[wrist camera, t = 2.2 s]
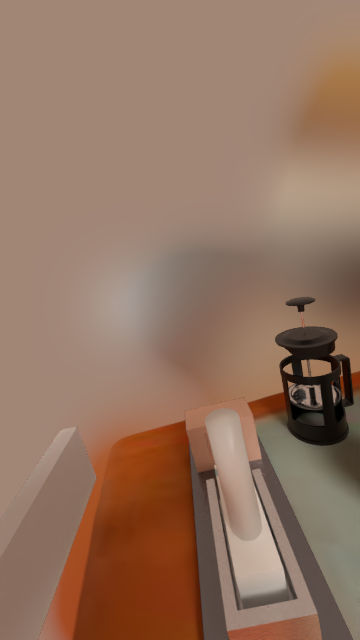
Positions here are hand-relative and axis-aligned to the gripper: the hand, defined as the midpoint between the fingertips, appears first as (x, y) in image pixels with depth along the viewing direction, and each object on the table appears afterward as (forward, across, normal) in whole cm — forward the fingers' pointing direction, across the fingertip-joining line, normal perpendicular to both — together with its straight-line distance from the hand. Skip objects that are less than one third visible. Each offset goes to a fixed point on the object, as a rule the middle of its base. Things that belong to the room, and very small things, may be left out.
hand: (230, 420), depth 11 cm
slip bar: (+12, 0, -23) cm, 26 cm away
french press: (+30, +17, -26) cm, 43 cm away
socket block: (+26, 0, -25) cm, 36 cm away
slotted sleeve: (+17, 0, -26) cm, 31 cm away
